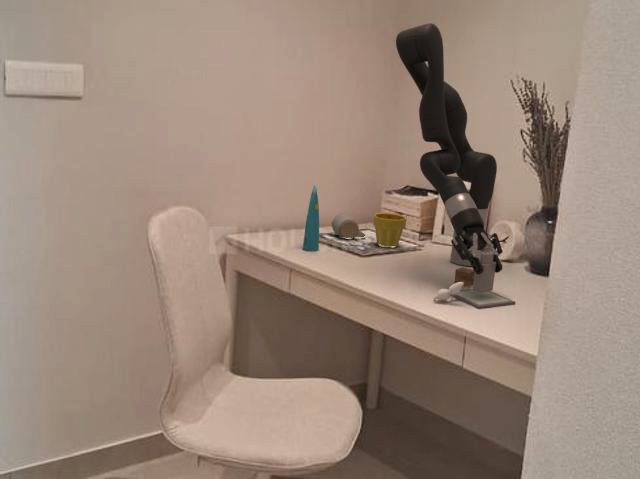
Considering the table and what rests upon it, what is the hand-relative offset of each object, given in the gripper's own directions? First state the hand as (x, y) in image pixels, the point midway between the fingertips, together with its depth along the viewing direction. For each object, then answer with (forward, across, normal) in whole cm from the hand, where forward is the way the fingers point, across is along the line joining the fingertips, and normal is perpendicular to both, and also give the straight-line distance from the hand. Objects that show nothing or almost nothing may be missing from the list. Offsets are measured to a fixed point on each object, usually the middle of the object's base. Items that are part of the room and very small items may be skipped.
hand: (489, 271), depth 176 cm
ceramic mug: (-43, +3, +54) cm, 69 cm away
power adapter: (+3, 0, +5) cm, 6 cm away
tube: (-35, -18, +47) cm, 61 cm away
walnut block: (-4, +5, +15) cm, 17 cm away
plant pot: (-34, +9, +45) cm, 57 cm away
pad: (+4, 0, +7) cm, 8 cm away
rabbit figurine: (+4, -10, +7) cm, 13 cm away
